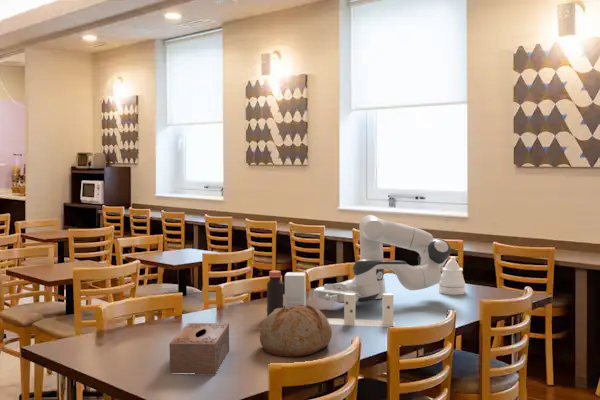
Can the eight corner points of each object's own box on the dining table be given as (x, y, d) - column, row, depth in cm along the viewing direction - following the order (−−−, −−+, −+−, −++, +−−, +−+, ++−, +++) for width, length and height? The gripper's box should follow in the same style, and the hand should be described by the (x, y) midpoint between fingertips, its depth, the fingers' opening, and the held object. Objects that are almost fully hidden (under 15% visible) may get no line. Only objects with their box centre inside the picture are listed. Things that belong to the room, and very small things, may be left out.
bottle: (269, 321, 276) (268, 273, 274) (265, 317, 282) (265, 270, 281) (285, 320, 278) (284, 272, 276) (281, 316, 284) (281, 269, 283)
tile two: (345, 322, 272) (345, 293, 272) (355, 322, 271) (355, 293, 271) (344, 324, 269) (344, 294, 268) (353, 324, 268) (354, 295, 267)
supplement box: (306, 304, 307) (306, 272, 306) (304, 308, 298) (304, 275, 297) (286, 304, 308) (286, 271, 307) (284, 308, 299) (284, 275, 298)
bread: (296, 334, 255) (296, 295, 254) (345, 346, 240) (345, 304, 239) (247, 349, 236) (246, 307, 235) (296, 363, 220) (296, 318, 219)
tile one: (382, 322, 271) (382, 293, 270) (392, 322, 271) (392, 293, 270) (383, 324, 268) (383, 295, 267) (393, 324, 268) (393, 295, 267)
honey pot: (467, 294, 328) (468, 258, 327) (441, 294, 328) (441, 258, 327) (461, 289, 341) (462, 254, 339) (436, 289, 341) (436, 254, 340)
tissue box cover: (215, 375, 208) (215, 344, 208) (169, 375, 209) (169, 343, 208) (229, 351, 234) (229, 323, 233) (188, 351, 235) (188, 323, 234)
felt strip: (305, 324, 271) (305, 323, 270) (308, 318, 280) (308, 317, 280) (394, 328, 264) (394, 327, 264) (395, 321, 274) (395, 320, 274)
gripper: (363, 302, 292) (349, 308, 280) (322, 297, 302) (307, 303, 290) (363, 287, 291) (349, 293, 279) (322, 283, 301) (307, 288, 289)
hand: (327, 298), depth 285 cm, fingers closed
